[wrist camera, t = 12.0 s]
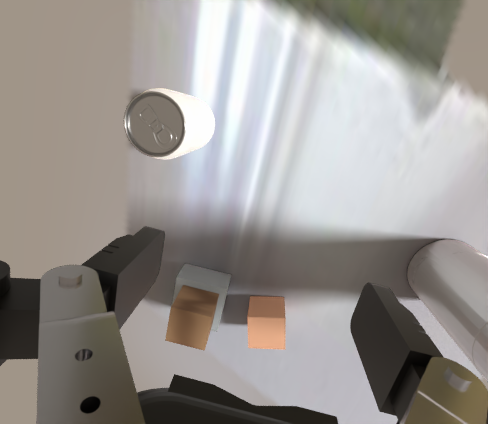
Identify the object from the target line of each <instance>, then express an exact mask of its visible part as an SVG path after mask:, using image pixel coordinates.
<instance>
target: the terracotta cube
mask: <svg viewBox="0 0 488 424" xmlns="http://www.w3.org/2000/svg"><path fill="white" fill-rule="evenodd" d="M247 321H248V346H249V348H261V349H285V303H284V297H266V296H250V301H249V309H248V316H247Z"/></svg>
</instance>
